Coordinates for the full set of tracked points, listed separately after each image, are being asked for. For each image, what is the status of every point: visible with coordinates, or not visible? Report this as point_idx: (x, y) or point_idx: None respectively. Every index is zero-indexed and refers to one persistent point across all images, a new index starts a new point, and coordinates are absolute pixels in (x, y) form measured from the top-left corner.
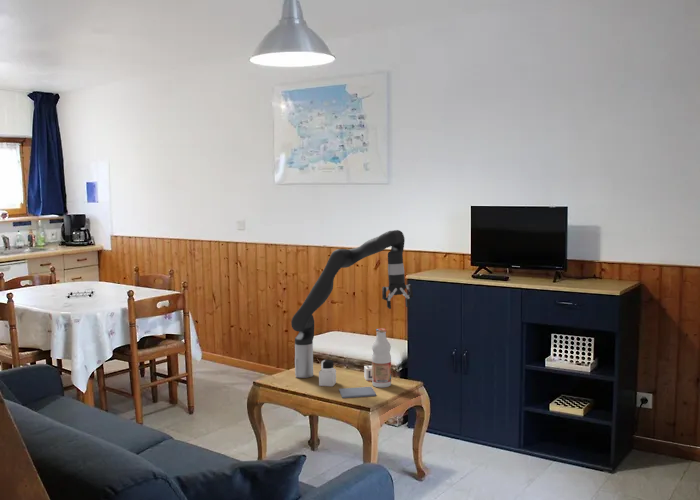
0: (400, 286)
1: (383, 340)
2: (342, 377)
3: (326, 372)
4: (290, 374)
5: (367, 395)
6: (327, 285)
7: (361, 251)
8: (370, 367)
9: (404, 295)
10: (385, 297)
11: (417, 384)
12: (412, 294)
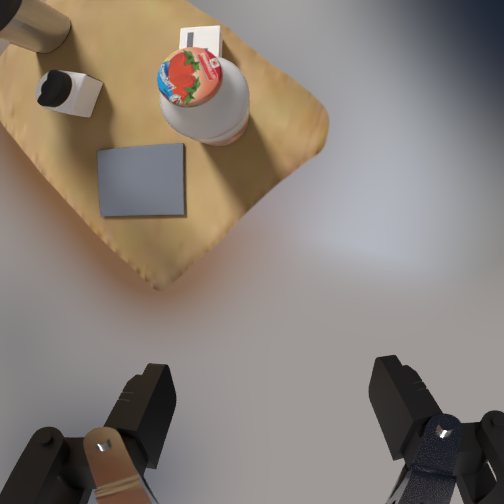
0: None
1: (202, 119)
2: (129, 41)
3: (57, 111)
4: None
5: (160, 214)
6: None
7: None
8: (196, 46)
9: (388, 502)
10: (80, 495)
11: (324, 138)
12: (479, 476)
